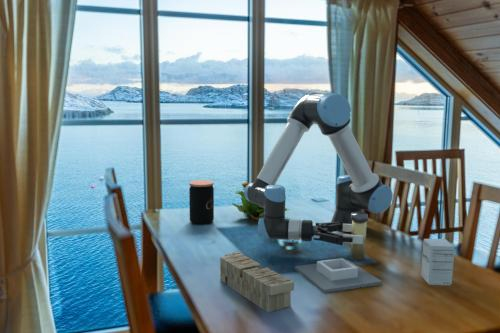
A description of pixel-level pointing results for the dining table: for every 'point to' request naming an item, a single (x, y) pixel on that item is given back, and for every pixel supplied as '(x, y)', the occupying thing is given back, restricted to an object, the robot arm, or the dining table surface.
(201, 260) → the dining table surface
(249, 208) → the potted flower
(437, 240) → the supplement box
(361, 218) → the lidded glass jar
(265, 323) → the dining table surface
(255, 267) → the block tower
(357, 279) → the socket plate
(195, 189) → the coffee jar
